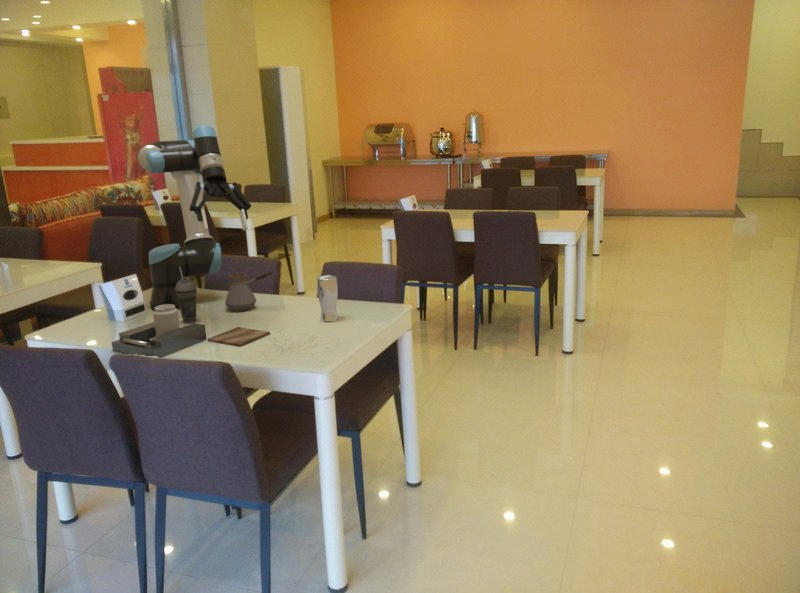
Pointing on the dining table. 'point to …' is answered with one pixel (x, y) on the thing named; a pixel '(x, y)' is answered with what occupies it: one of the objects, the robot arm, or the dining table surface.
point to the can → (165, 319)
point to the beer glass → (328, 297)
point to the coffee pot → (241, 292)
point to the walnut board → (238, 336)
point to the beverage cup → (186, 299)
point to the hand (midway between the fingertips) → (225, 229)
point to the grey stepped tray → (158, 340)
